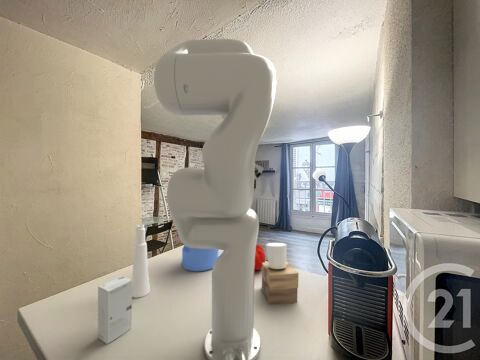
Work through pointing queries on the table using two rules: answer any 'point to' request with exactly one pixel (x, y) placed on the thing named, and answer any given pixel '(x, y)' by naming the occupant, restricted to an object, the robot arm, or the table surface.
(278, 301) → the tower base block
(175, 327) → the table surface
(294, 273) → the tower top block
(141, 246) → the cosmetic bottle
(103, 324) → the skincare box
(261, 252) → the tomato
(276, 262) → the white cup
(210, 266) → the water jug
